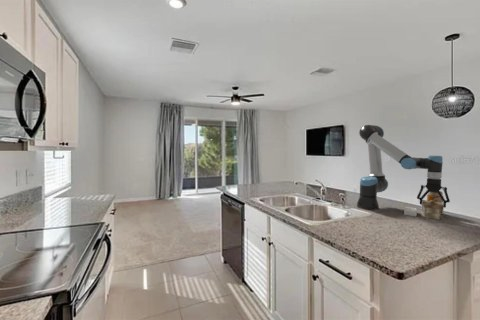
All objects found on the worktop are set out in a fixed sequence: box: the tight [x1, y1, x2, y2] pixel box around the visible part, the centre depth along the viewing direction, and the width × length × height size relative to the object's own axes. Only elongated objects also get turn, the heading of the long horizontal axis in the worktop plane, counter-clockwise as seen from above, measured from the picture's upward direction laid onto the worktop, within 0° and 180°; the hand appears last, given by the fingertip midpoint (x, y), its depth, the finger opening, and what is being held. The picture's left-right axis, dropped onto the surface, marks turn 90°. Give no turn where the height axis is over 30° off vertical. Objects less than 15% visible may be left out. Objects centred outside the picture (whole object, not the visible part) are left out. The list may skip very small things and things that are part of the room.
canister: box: [426, 190, 444, 215], centre depth 172 cm, size 9×11×20 cm
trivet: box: [403, 206, 418, 217], centre depth 169 cm, size 7×13×3 cm, turn 145°
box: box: [423, 207, 442, 220], centre depth 162 cm, size 8×11×7 cm
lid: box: [422, 199, 444, 211], centre depth 162 cm, size 10×13×4 cm
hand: (432, 210), depth 162 cm, fingers closed on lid, 10 cm apart
